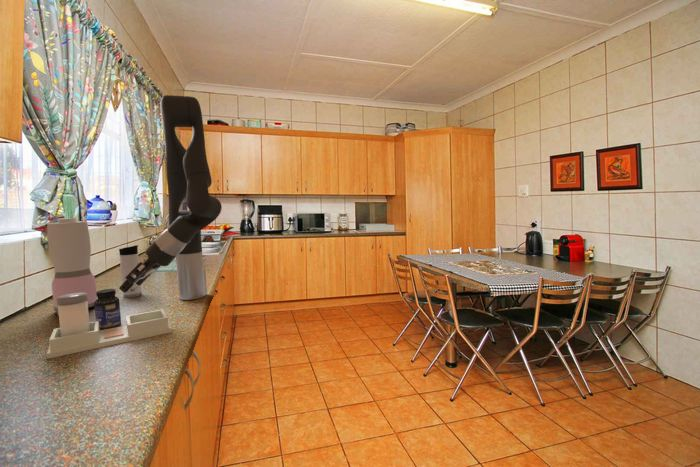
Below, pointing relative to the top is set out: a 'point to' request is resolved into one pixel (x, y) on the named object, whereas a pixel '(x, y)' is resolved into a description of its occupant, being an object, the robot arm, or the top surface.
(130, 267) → the travel mug
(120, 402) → the top surface
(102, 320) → the pill bottle
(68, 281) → the blender
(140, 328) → the cream compartment organizer
